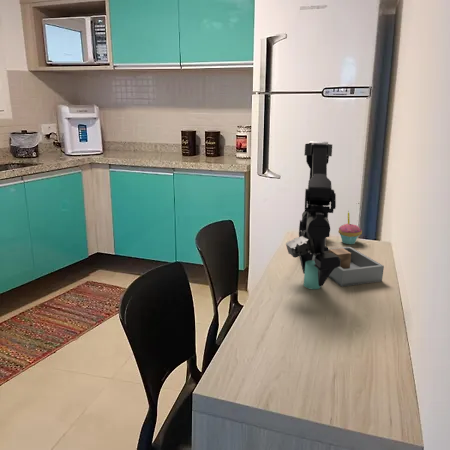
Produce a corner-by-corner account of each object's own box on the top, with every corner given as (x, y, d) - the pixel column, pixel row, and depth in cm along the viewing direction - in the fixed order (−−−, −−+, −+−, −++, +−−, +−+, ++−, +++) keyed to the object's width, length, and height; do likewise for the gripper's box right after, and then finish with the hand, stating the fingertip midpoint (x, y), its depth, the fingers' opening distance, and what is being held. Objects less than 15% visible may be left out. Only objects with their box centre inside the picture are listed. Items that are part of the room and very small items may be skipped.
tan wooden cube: (336, 269, 141) (337, 254, 139) (328, 263, 145) (329, 249, 144) (349, 267, 142) (351, 253, 141) (341, 262, 147) (342, 248, 145)
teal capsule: (300, 283, 132) (302, 261, 130) (315, 281, 133) (317, 259, 131) (309, 290, 127) (311, 267, 125) (324, 288, 129) (326, 265, 127)
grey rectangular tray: (311, 264, 146) (312, 250, 145) (348, 260, 151) (350, 246, 149) (341, 286, 130) (343, 270, 129) (382, 281, 134) (383, 265, 133)
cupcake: (332, 240, 171) (335, 210, 168) (350, 237, 175) (353, 208, 171) (347, 247, 164) (350, 215, 160) (365, 244, 167) (368, 213, 164)
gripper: (276, 221, 132) (274, 270, 136) (306, 241, 115) (302, 296, 119) (310, 219, 135) (307, 266, 139) (344, 237, 118) (339, 291, 122)
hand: (312, 279), depth 130 cm, fingers open, 9 cm apart
